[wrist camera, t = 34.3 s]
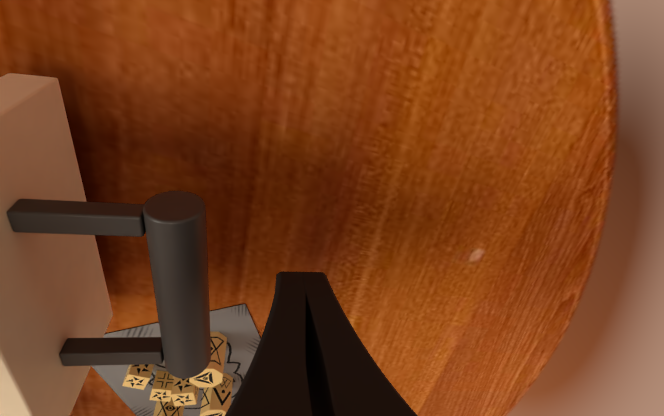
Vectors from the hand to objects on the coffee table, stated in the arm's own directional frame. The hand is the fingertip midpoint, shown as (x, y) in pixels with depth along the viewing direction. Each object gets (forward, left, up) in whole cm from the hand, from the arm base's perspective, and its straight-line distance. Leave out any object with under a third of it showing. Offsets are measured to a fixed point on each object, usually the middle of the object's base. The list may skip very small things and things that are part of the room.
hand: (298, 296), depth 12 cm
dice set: (-7, +9, -5) cm, 12 cm away
